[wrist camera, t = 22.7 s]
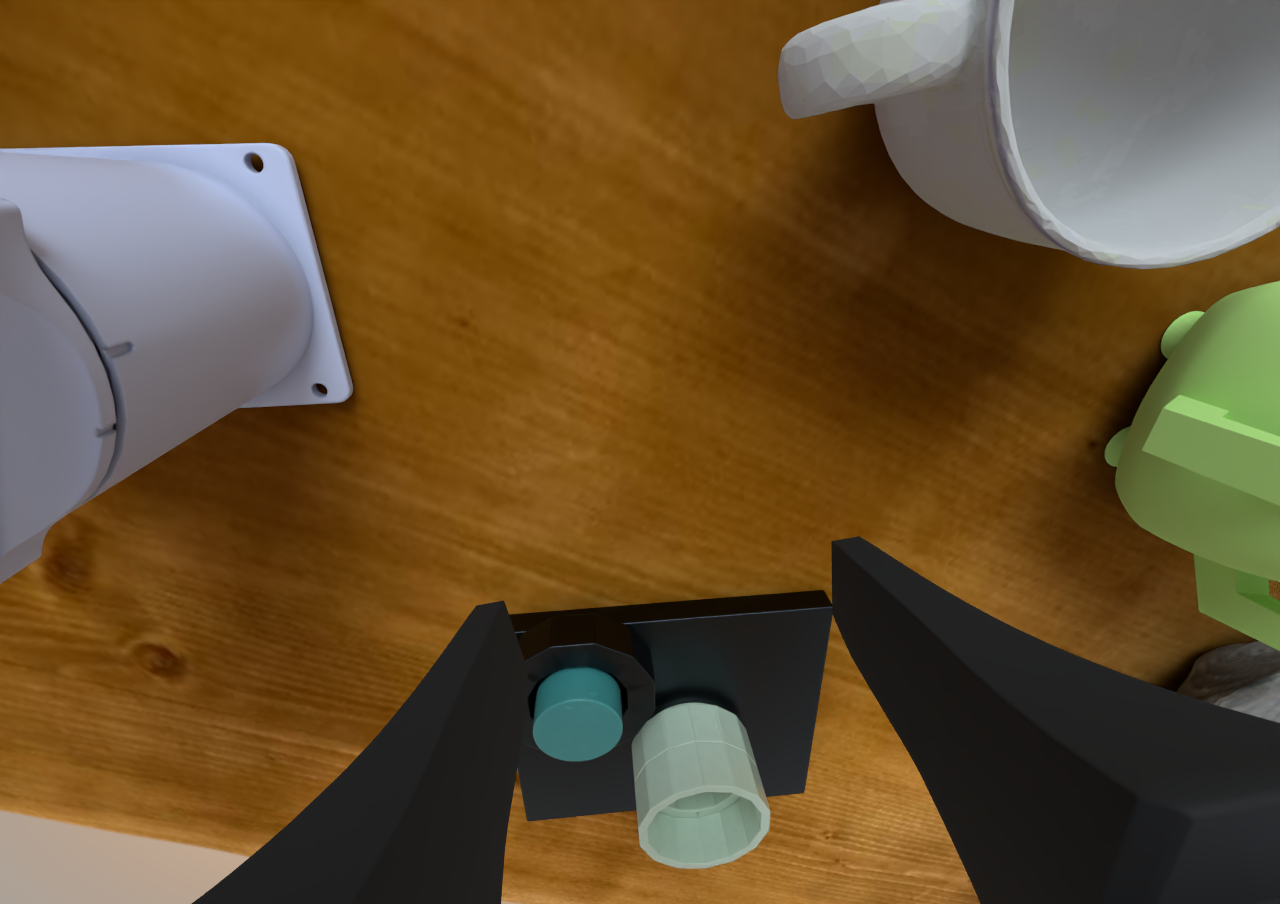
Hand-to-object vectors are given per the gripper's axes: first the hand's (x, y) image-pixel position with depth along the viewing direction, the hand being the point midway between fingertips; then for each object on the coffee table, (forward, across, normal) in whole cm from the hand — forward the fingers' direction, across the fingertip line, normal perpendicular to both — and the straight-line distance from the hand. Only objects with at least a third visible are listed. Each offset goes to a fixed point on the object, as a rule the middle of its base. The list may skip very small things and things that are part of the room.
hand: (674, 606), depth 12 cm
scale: (+10, +1, +15) cm, 18 cm away
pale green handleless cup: (+9, 0, +16) cm, 19 cm away
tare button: (+8, +5, +11) cm, 14 cm away
